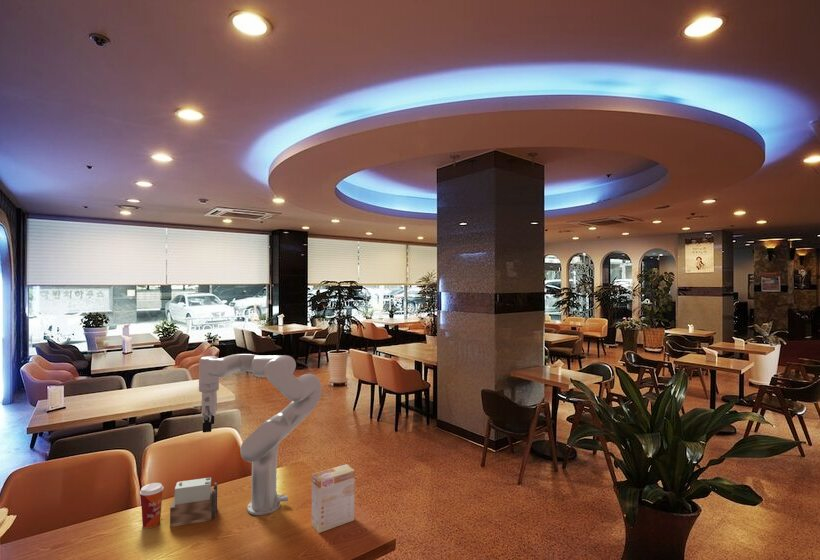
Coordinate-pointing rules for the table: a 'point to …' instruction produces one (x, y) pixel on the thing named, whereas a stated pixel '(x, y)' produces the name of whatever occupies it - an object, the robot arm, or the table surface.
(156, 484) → the paper cup
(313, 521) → the coffeecake box
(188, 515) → the brown boxy piece
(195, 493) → the white block with knobs
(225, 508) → the table surface
